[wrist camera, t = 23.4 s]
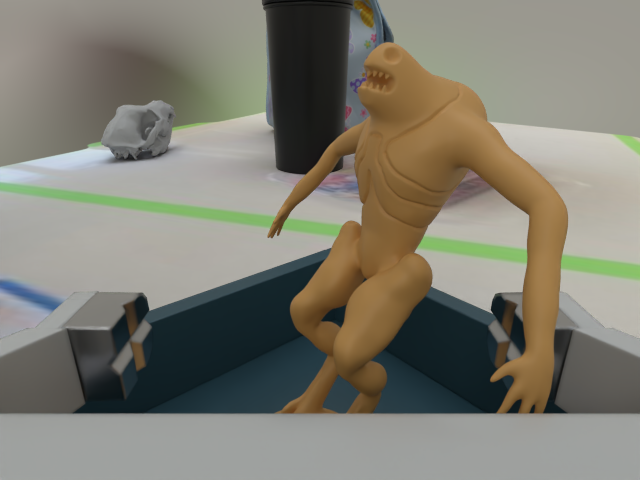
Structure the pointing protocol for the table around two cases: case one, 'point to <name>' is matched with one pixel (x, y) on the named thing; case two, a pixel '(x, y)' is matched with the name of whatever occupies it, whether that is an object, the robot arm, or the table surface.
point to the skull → (139, 129)
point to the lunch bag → (353, 57)
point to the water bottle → (307, 78)
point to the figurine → (418, 230)
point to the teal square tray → (306, 354)
